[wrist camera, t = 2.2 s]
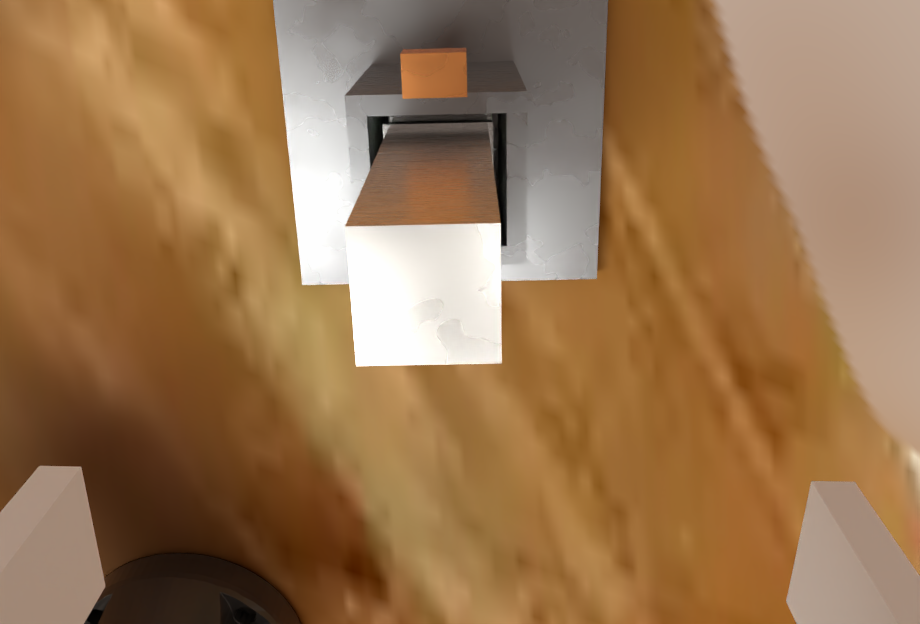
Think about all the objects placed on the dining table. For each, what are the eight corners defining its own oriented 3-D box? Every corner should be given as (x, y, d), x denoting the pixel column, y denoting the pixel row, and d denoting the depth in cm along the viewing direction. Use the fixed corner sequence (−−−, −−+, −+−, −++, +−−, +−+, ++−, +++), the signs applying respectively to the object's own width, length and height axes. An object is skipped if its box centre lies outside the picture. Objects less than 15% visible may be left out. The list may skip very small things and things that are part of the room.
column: (401, 180, 44) (346, 375, 23) (396, 89, 42) (332, 215, 22) (490, 178, 44) (512, 372, 23) (489, 87, 42) (512, 211, 22)
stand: (305, 278, 47) (256, 378, 36) (274, -33, 41) (202, -28, 30) (594, 272, 47) (634, 371, 36) (606, -41, 41) (659, -40, 30)
